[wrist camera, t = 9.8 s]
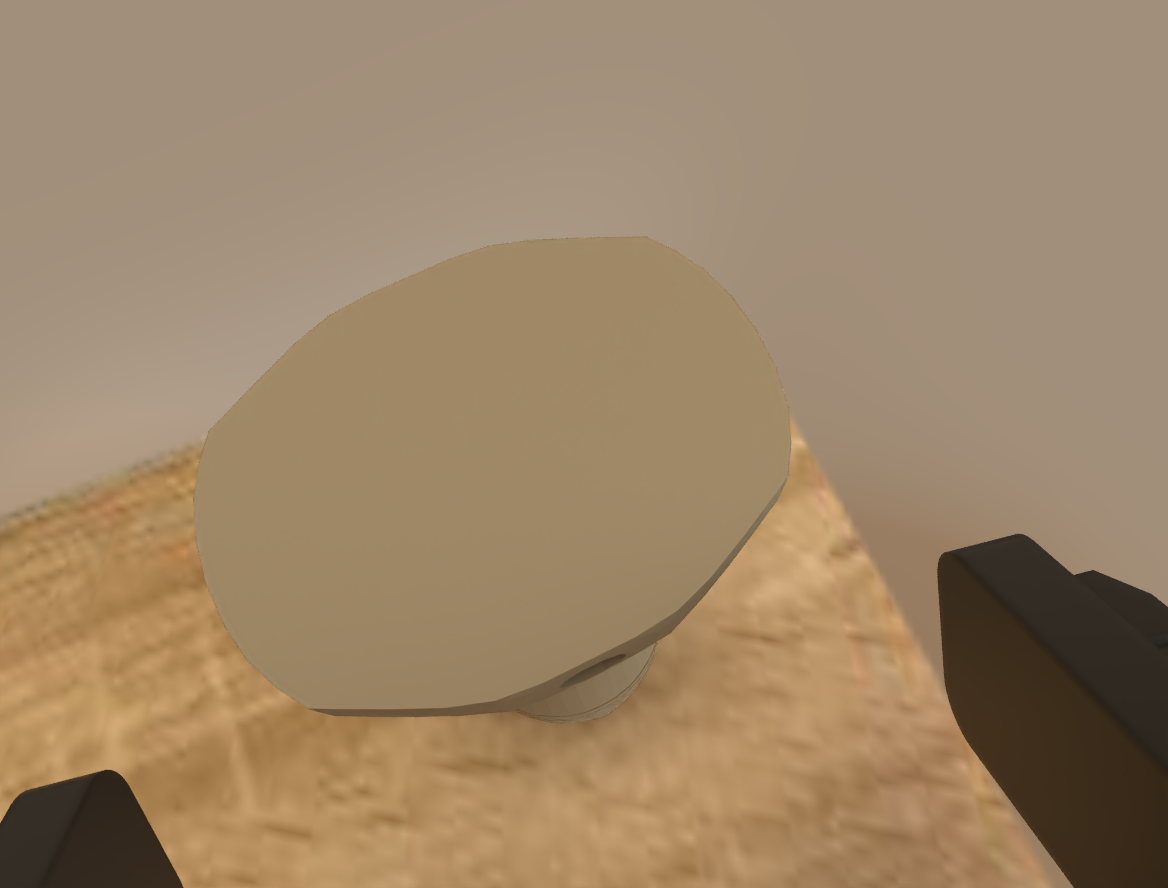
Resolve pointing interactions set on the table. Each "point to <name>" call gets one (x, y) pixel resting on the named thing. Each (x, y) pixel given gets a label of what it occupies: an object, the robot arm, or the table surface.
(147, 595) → the table surface
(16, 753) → the table surface
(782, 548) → the table surface
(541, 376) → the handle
